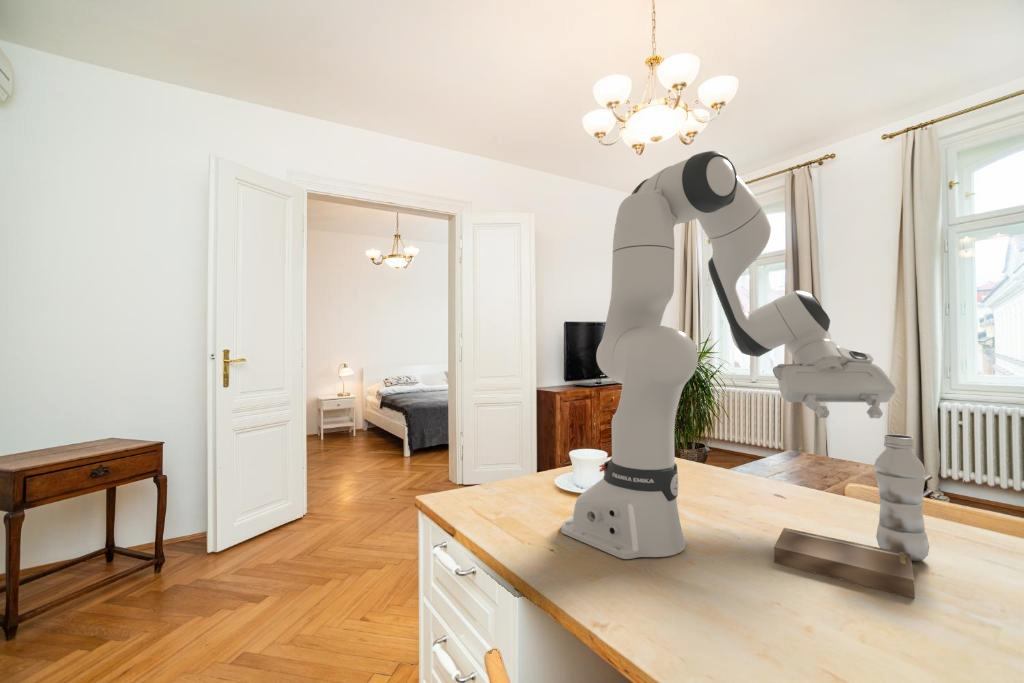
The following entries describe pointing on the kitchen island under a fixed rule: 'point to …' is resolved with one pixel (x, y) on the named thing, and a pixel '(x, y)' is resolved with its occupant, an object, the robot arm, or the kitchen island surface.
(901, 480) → the plastic bottle
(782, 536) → the walnut board
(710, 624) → the kitchen island surface
